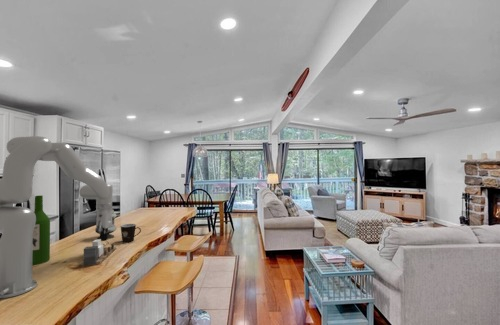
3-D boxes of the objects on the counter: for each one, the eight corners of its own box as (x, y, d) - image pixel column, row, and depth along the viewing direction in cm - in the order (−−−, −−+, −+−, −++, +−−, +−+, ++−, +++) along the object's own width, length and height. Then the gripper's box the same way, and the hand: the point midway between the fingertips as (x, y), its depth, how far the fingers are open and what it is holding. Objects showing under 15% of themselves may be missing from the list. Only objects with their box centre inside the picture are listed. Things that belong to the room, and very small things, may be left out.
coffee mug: (117, 242, 152) (117, 226, 152) (129, 238, 160) (129, 223, 160) (129, 245, 147) (129, 228, 147) (141, 241, 154) (142, 225, 154)
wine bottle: (21, 266, 116) (22, 197, 116) (32, 259, 124) (33, 195, 125) (43, 264, 118) (44, 196, 118) (53, 257, 127) (53, 194, 127)
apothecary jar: (107, 240, 155) (107, 212, 155) (90, 239, 157) (90, 211, 157) (120, 235, 167) (120, 208, 167) (104, 234, 169) (104, 208, 169)
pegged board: (99, 264, 118) (99, 247, 118) (78, 265, 116) (79, 249, 116) (116, 248, 140) (116, 234, 140) (99, 249, 138) (99, 235, 138)
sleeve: (99, 256, 123) (99, 241, 123) (89, 257, 122) (89, 242, 122) (103, 253, 127) (103, 238, 128) (94, 253, 127) (94, 239, 127)
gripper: (106, 208, 127) (105, 244, 127) (116, 204, 142) (115, 236, 142) (90, 209, 126) (89, 245, 125) (102, 204, 141) (101, 237, 140)
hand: (103, 240), depth 133 cm, fingers closed
